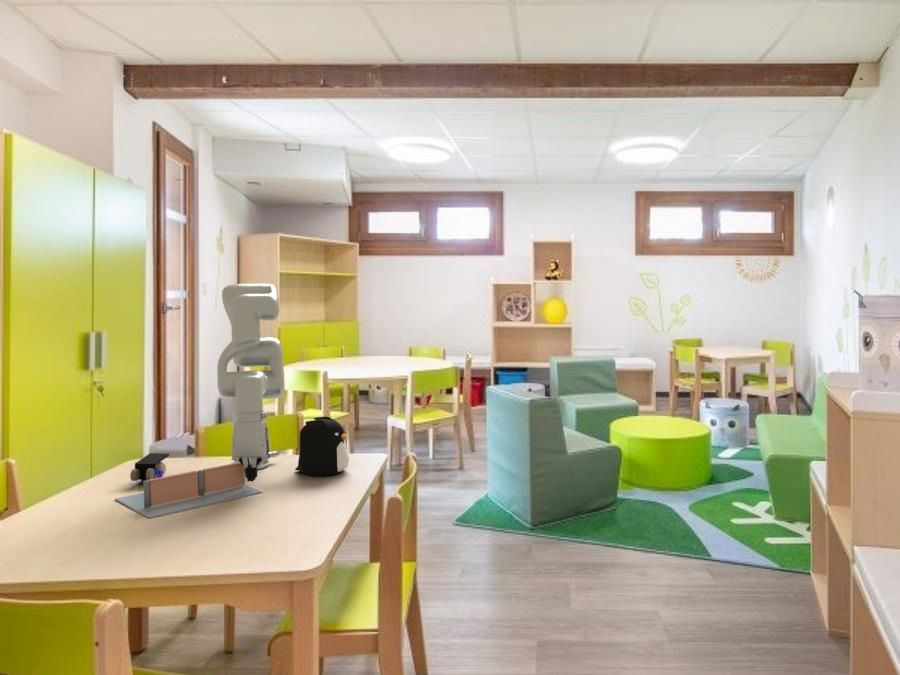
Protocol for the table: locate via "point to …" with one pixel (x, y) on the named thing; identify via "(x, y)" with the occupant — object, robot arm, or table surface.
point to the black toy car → (149, 467)
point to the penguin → (322, 448)
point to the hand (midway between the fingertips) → (251, 480)
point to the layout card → (186, 501)
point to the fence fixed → (173, 488)
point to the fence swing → (223, 477)
